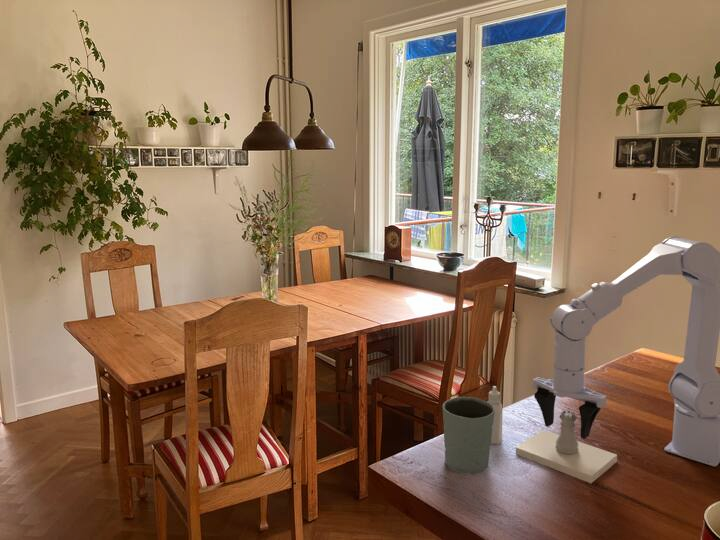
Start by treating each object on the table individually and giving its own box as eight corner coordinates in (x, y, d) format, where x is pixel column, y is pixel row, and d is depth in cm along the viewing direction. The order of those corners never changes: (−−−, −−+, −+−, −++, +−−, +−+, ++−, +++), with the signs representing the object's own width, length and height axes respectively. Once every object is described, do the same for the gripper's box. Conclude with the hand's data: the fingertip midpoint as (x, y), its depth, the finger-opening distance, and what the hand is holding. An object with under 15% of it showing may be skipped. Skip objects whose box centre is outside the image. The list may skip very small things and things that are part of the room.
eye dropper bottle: (509, 437, 127) (510, 385, 125) (496, 446, 123) (497, 393, 121) (491, 431, 130) (492, 380, 128) (478, 440, 126) (478, 388, 124)
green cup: (440, 450, 122) (440, 396, 120) (488, 450, 122) (489, 396, 120) (445, 476, 112) (445, 418, 110) (498, 475, 112) (499, 417, 110)
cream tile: (616, 461, 116) (617, 454, 115) (591, 483, 108) (591, 476, 108) (543, 435, 127) (543, 429, 127) (515, 454, 120) (515, 447, 120)
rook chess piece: (581, 448, 118) (582, 411, 117) (575, 457, 115) (576, 419, 113) (558, 442, 121) (560, 406, 119) (552, 451, 117) (553, 414, 116)
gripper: (525, 363, 117) (523, 426, 119) (595, 381, 106) (592, 449, 109) (543, 354, 121) (541, 415, 124) (612, 370, 111) (609, 437, 113)
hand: (566, 430), depth 117 cm, fingers open, 7 cm apart
